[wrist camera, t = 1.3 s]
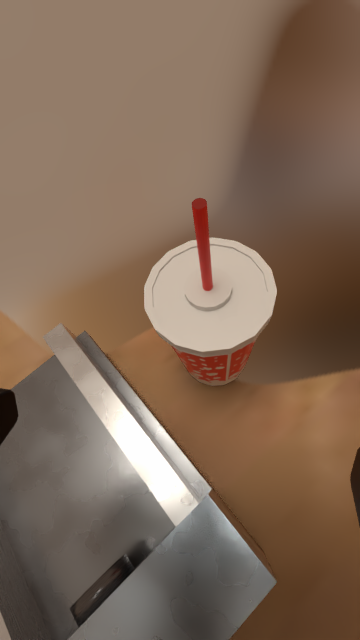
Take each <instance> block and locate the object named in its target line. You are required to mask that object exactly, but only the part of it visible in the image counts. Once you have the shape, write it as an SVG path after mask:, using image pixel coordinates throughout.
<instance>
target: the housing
mask: <svg viewBox="0 0 360 640" xmlns="http://www.w3.org/2000/svg"><path fill="white" fill-rule="evenodd" d="M43 338H44V339H45V341H46V342H47V344H48V345H49V347H50V348H51V350H52V351H53V353H54V354H55V355H54V356H52V357H51V358H50V359H49V360H47V361H46V362H45V363H44V364H42V365H41V366H40V367H39V368H37V369H36V370H35V371H33V372H32V373H31V374H30V375H28V376H27V377H26V378H25V379H23V380H22V381H21V382H20V383H18V384H17V385H16V386H15V387H13V388H12V389H11V390H12V391H13V392H14V394H15V397H16V403H17V408H18V413H19V416H18V420H17V423H16V424H15V426H14V427H13V428H12V430H11V431H10V433H9V434H8V436H7V437H6V438H5V440H4V441H3V443H2V444H1V446H0V640H229V639H230V638H231V637H232V635H233V634H234V633H235V632H236V631H237V629H238V628H239V627H240V626H241V625H242V624H243V622H244V621H245V620H246V619H247V618H248V616H249V615H250V614H251V613H252V612H253V610H254V609H255V608H256V607H257V606H258V604H259V603H260V602H261V601H262V600H263V598H264V597H265V596H266V595H267V594H268V593H269V591H270V590H271V589H272V588H273V587H274V585H275V584H276V583H277V581H276V579H275V576H274V574H273V572H272V570H271V567H270V565H269V563H268V561H267V558H266V556H265V554H264V552H263V550H262V549H261V548H260V547H259V545H258V544H257V543H256V542H255V540H254V539H253V538H252V537H251V535H250V534H249V533H248V532H247V530H246V529H245V528H244V527H243V525H242V524H241V523H240V522H239V520H238V519H237V518H236V517H235V515H234V514H233V513H232V512H231V510H230V509H229V508H228V507H227V505H226V504H225V503H224V502H223V500H222V499H221V498H220V497H219V496H218V494H217V493H216V492H215V491H214V489H213V488H212V487H211V486H210V484H209V483H208V482H207V481H206V479H205V478H204V477H203V476H202V474H201V473H200V472H199V471H198V469H197V468H196V467H195V466H194V464H193V463H192V462H191V461H190V459H189V458H188V457H187V456H186V454H185V453H184V452H183V451H182V449H181V448H180V447H179V446H178V445H177V443H176V442H175V441H174V440H173V438H172V437H171V436H170V435H169V433H168V432H167V431H166V430H165V428H164V427H163V426H162V425H161V423H160V422H159V421H158V420H157V418H156V417H155V416H154V415H153V413H152V412H151V411H150V410H149V408H148V407H147V406H146V405H145V403H144V402H143V401H142V400H141V398H140V397H139V396H138V395H137V394H136V392H135V391H134V390H133V389H132V387H131V386H130V385H129V384H128V382H127V381H126V380H125V379H124V377H123V376H122V375H121V374H120V372H119V371H118V370H117V369H116V367H115V366H114V365H113V364H112V362H111V361H110V360H109V359H108V357H107V356H106V355H105V354H104V352H103V351H102V350H101V349H100V347H99V346H98V345H97V344H96V343H95V341H94V340H93V339H92V338H91V336H90V335H89V334H88V333H87V332H86V331H84V332H83V333H82V334H80V335H79V336H78V337H76V336H75V335H74V334H73V333H71V331H70V330H68V329H67V328H66V327H65V326H64V325H63V324H62V323H60V324H59V325H57V326H56V327H55V328H54V329H52V330H51V331H50V332H48V333H47V334H46V335H44V336H43Z"/></svg>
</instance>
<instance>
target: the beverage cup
mask: <svg viewBox="0 0 360 640" xmlns="http://www.w3.org/2000/svg"><path fill="white" fill-rule="evenodd" d="M192 210H193V217H194V225H195V233H196V240H193V241H189V242H187V243H185V244H183V245H181V246H179V247H177V248H175V249H172V250H170V251H169V252H167V253H166V254H165V255H164V257H163V258H162V259H161V260H160V261H159V262H158V263H157V264H156V265H155V266H154V267H153V268H152V270H151V273H150V275H149V277H148V279H147V282H146V284H145V286H144V304H145V311H146V313H147V315H148V316H149V318H150V320H151V322H152V324H153V326H154V328H155V330H156V332H157V333H158V335H159V336H160V337H161V338H162V339H164V340H165V341H166V342H168V343H169V344H170V345H171V346H172V347H173V349H174V350H175V352H176V353H177V355H178V356H179V358H180V360H181V361H182V363H183V364H184V366H185V367H186V369H187V371H188V372H189V374H190V375H191V376H192V377H194V378H195V379H196V380H197V381H199V382H200V383H203V384H207V385H210V386H218V385H226V384H227V383H229V382H231V381H233V380H235V379H237V377H238V376H239V375H240V373H241V372H242V371H243V370H244V368H245V365H246V363H247V360H248V358H249V355H250V353H251V351H252V348H253V346H254V343H255V341H256V338H257V337H258V335H259V334H260V333H261V331H262V330H263V329H264V328H265V327H266V325H267V324H268V323H269V320H270V318H271V316H272V311H273V307H274V303H275V298H276V294H277V290H276V285H275V282H274V278H273V274H272V270H271V269H270V267H269V266H268V265H267V264H266V262H265V261H264V260H263V259H262V258H261V257H260V255H259V254H258V253H257V252H256V251H254V250H252V249H250V248H248V247H246V246H244V245H242V244H241V243H239V242H237V241H231V240H225V239H219V238H209V227H208V213H207V202H206V200H205V199H202V198H198V199H195V200H194V201H193V202H192Z"/></svg>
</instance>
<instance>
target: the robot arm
mask: <svg viewBox="0 0 360 640" xmlns="http://www.w3.org/2000/svg"><path fill="white" fill-rule="evenodd" d="M18 416H19V413H18V408H17V403H16V397H15V394H14V392H13V391H12V390H8V389H2V388H0V446H1V444H2V443H3V441H4V440H5V438H6V437H7V436H8V434H9V433H10V431H11V430H12V428H13V427H14V426H15V424H16V423H17V420H18ZM350 481H351V488H352V492H353V497H354V502H355V507H356V511H357V516H358V521H359V526H360V447H359V449H358V450H357V453H356V457H355V460H354V464H353V468H352V471H351V477H350Z"/></svg>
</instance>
